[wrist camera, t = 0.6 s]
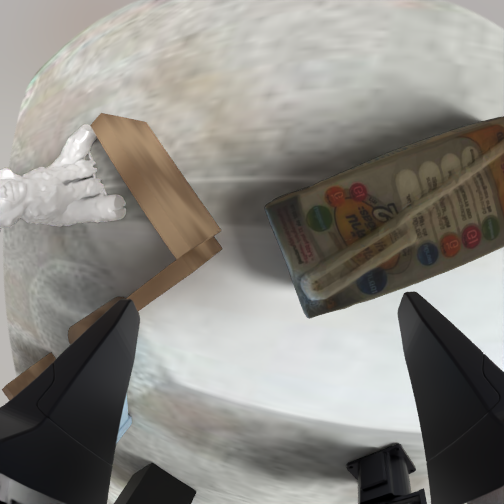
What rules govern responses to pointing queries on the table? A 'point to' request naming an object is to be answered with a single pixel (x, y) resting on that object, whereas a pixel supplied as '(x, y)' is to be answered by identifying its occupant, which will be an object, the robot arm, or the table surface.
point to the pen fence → (158, 212)
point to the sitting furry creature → (60, 190)
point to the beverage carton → (394, 218)
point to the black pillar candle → (155, 488)
